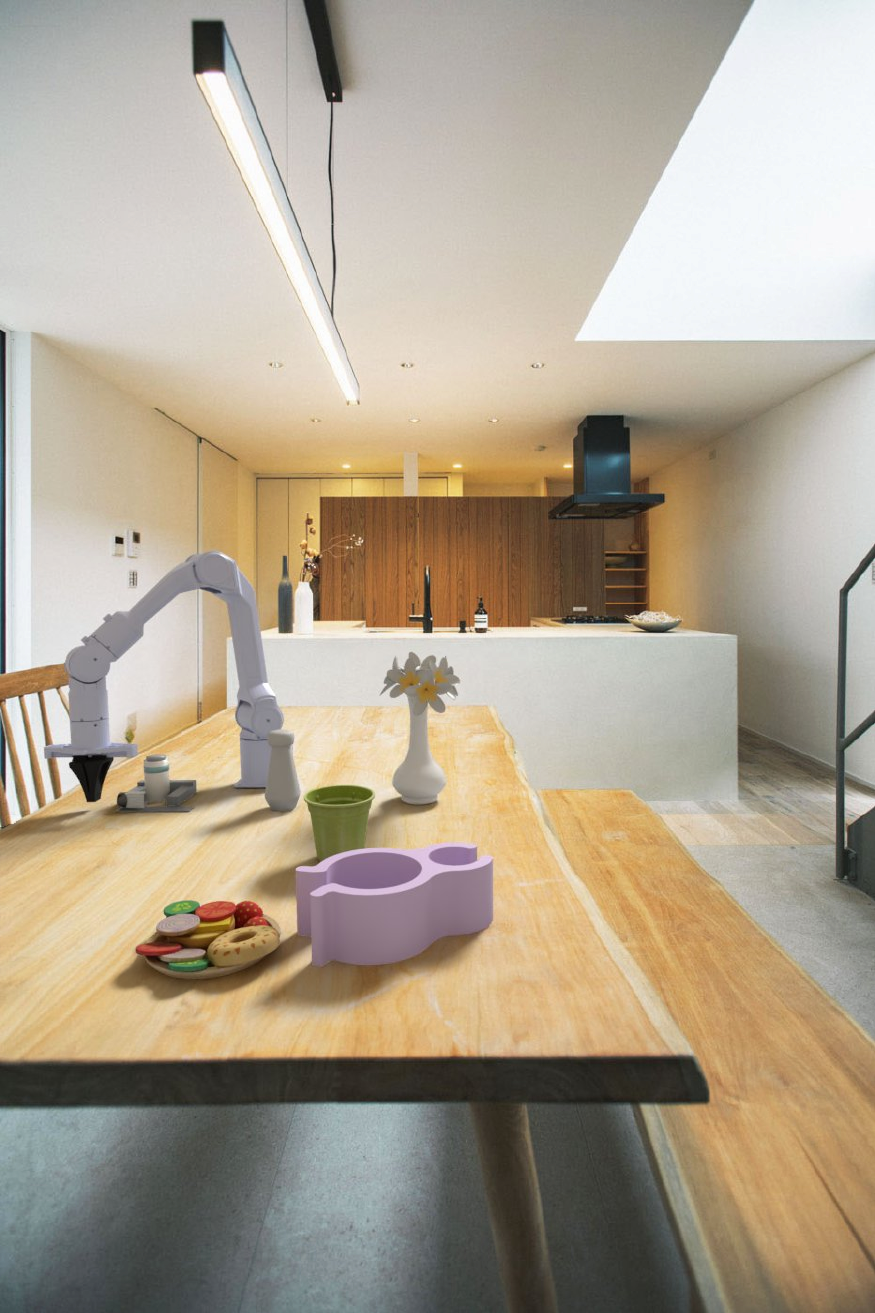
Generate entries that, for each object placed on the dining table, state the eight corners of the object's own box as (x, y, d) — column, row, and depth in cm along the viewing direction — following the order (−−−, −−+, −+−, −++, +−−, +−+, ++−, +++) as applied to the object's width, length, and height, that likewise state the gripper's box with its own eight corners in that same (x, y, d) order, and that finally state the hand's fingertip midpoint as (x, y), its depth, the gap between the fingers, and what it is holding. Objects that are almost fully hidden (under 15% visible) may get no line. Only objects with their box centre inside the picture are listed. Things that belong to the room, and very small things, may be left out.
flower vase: (404, 821, 107) (402, 660, 105) (371, 791, 124) (368, 652, 122) (480, 811, 112) (480, 656, 109) (438, 783, 129) (437, 649, 127)
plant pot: (387, 849, 95) (386, 787, 94) (357, 875, 86) (356, 807, 85) (326, 842, 98) (325, 782, 97) (291, 866, 89) (289, 800, 88)
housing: (213, 791, 124) (212, 779, 124) (188, 811, 113) (188, 798, 112) (141, 792, 124) (140, 780, 124) (109, 812, 113) (109, 799, 113)
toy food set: (280, 979, 63) (279, 945, 63) (125, 998, 60) (123, 962, 60) (281, 914, 76) (280, 886, 76) (154, 927, 73) (152, 898, 73)
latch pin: (149, 804, 115) (148, 790, 115) (142, 808, 113) (142, 794, 112) (124, 804, 115) (123, 790, 115) (117, 809, 113) (116, 794, 113)
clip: (460, 890, 82) (460, 833, 81) (512, 936, 70) (512, 870, 70) (291, 923, 74) (289, 860, 73) (319, 981, 62) (318, 907, 62)
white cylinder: (174, 795, 122) (172, 753, 121) (164, 802, 118) (162, 758, 117) (151, 795, 122) (149, 753, 121) (141, 802, 118) (138, 759, 117)
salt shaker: (305, 803, 117) (303, 727, 116) (295, 814, 111) (292, 734, 110) (271, 802, 117) (269, 727, 116) (259, 813, 112) (257, 733, 110)
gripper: (30, 723, 109) (35, 807, 110) (122, 723, 109) (126, 807, 110) (56, 716, 116) (60, 795, 117) (141, 715, 116) (145, 794, 117)
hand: (93, 800), depth 114 cm, fingers closed
